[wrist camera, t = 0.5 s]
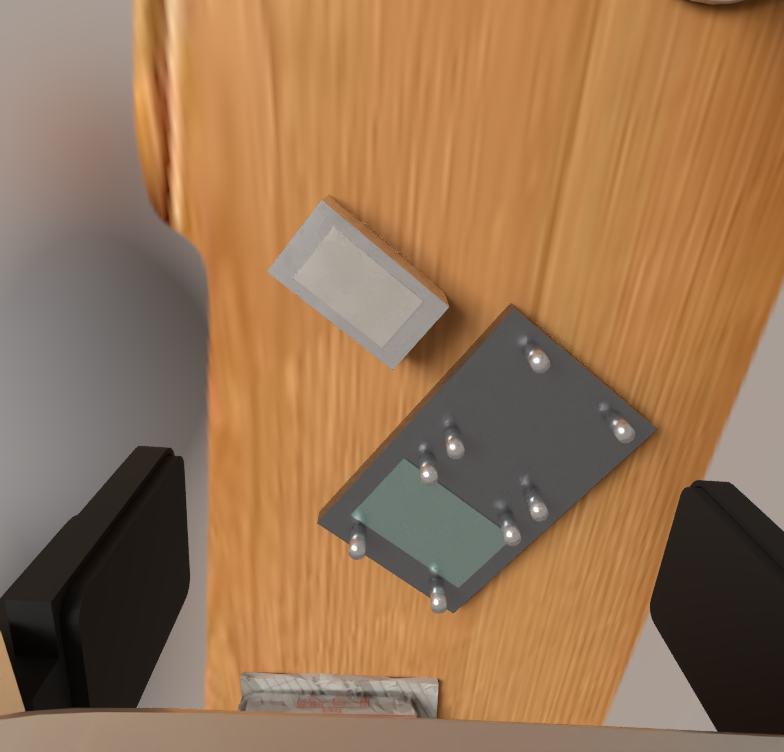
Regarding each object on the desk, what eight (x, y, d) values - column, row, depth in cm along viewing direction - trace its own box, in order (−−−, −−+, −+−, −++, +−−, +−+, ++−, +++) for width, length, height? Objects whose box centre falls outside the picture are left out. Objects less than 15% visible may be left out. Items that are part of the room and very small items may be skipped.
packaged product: (235, 793, 52) (228, 714, 49) (248, 742, 57) (242, 666, 53) (435, 799, 52) (443, 721, 49) (432, 747, 57) (439, 672, 53)
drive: (329, 194, 38) (321, 200, 34) (444, 291, 40) (449, 307, 36) (279, 259, 39) (266, 272, 35) (393, 349, 42) (392, 370, 38)
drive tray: (510, 303, 40) (522, 319, 36) (648, 420, 43) (672, 446, 39) (319, 511, 46) (312, 543, 43) (451, 600, 50) (456, 637, 46)
